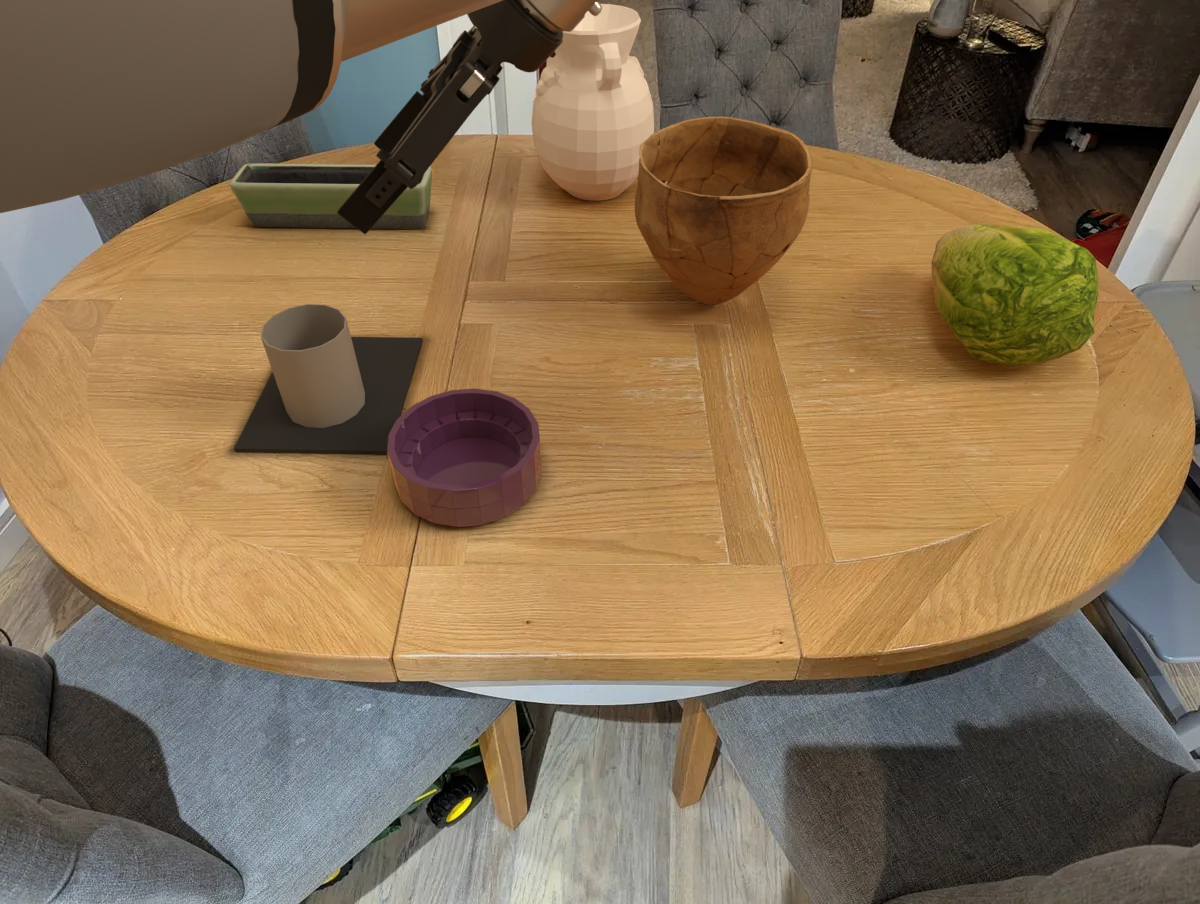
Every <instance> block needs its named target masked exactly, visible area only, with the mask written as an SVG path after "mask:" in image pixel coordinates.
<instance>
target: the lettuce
mask: <svg viewBox="0 0 1200 904" xmlns="http://www.w3.org/2000/svg"><path fill="white" fill-rule="evenodd" d="M931 280H932V284H933V288H934V304H935V306H936V308H937V310H938V312H939V313H940V314H941V316H942V318H943V319H944V321H945V322H946V324H947V325H948V327H949V329H950V330H951V332H952V333H953V335H954V336H955V338H956V339H957V340H958V341H959V343H960V344H961V345H962V346H963V347H964V348H965V350H966V351H967V352H968V353H969V355H971V357H972V358H973V359H974V360H976V361H977V360H978V361H981V362H986V363H989V364H995V365H1002V366H1003V365H1004V366H1010V367H1011V366H1012V367H1022V366H1030V365H1031V366H1032V365H1039V364H1042V363H1045V362H1046V363H1047V362H1049V361H1052V360H1056V359H1058V358H1059V359H1060V358H1061V357H1064V356H1067V355H1069V354H1071V353H1074V352H1076V351H1079V350H1081V348H1083V346H1084V345H1085V344H1086V343H1087V342H1088V341H1089V340H1090V338H1092V337H1093V335H1094V334H1095V312H1096V307H1097V303H1098V300H1099V299H1098V298H1099V272H1098V266H1097V258H1096V257H1094V255H1093V254H1092V253H1091V252H1090V251H1089V250H1088V249H1087V248H1086V247H1083V246H1082V245H1080V244H1077V243H1075V242H1073V241H1071V240H1068V239H1066V238H1063V237H1062V236H1059V235H1057V234H1055V233H1053V232H1050V231H1049V230H1047V229H1044V228H1036V227H1030V226H1029V227H1027V226H1019V225H1018V226H1017V225H1003V224H996V223H995V224H994V223H987V222H977V223H969V224H965V225H961V226H958V227H956V228H954V229H952V230H950V231H947V232H945V234H943V235H942V236H941V237H940V238H939V239H938V240H937V241H936V244H935V249H934V252H933V255H932V259H931Z"/></svg>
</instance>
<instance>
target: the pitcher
mask: <svg viewBox="0 0 1200 904" xmlns="http://www.w3.org/2000/svg"><path fill="white" fill-rule="evenodd" d="M600 4H601V6H602V10H601V12H600V13H599V14H598V15H597V16H593V15H592V14H591V13H590V12H589V11H587V12H586V13H585V17H584V18H583V19H582V21H581V22H580V23H579V24H578V25H577V26H576V27H575V28H574V29H573V30H572V31H571V32H565V31H563V38H562V39H563V42H562V44H561V45H560V46H559V47H558V48H557V49H556V50H555V51H554V53H555V55H554V56H553V57H551V56H550V57H549V58H548V59H547V60H546V65H545V67H544V68H543V69H542V71H541V73H540V78H539V81H538V82H537V83H536V87H535V96H534V97H533V98H534V99H533V101H532V103H533V104H532V112H531V130H532V140H533V145H534V149H535V152H536V155H537V158H538V161H539V163H540V165H541V168H542V169H543V170H544V171H545V173H546V174H548V176H549V177H550V178H551V180H553V181H554V182H555V183H556V185H558V186H559V187H560V188H561V189H563V190H564V191H565V192H567V193H568V194H569V195H571V197H573V198H576V199H579V200H584V201H594V202H598V201H607V200H608V201H609V200H611V199H615V198H616V197H619V196H620V195H622V194H623V193H624V192H625V191H626V190H627V189H628V188H629V187H631V186H632V185H633V183H634V182H635V181H636V179H638V175H639V159H640V156H639V149H640V146H641V144H642V143H643V142H644V141H645V140H647V139H648V138H649V137H650V136H651V135H652V134H654V133H655V115H654V114H655V113H654V103H653V100H652V96H651V92H650V91H651V90H650V88H649V84H648V81H647V80H646V78H645V72H644V70H643V68H642V66H641V63H640V61H639V59H638V58H637V57H636V55H634V56H633V55H630V53H631V50H632V48H633V45H634V43H635V41H636V38H637V36H638V35H637V34H638V32H639V29H640V25H641V22H642V19H641V17H640V14H639V13H638V11H636V10H635V9H633V8H631V7H628V6H624V5H618V4H611V3H600Z"/></svg>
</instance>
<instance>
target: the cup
mask: <svg viewBox="0 0 1200 904" xmlns="http://www.w3.org/2000/svg"><path fill="white" fill-rule="evenodd" d="M350 331H351V330H350V326H349V323H348V320H347V317H346V316H345V314H344V313H343V312H342V311H341V310H340V309H339V308H337V307H333V306H331V305H327V304H325V303H324V304H322V303H321V304H320V303H319V304H318V303H306V304H301V305H300V304H299V305H296V306H291V307H288V308H286V309H284V310H282V311H279V312H277V313H275V314H272V315H271V317H270V318H269V319H268V320H267V321H266V322H264V324H263V325H262V328H261V331H260V339H261V341H262V345H263V347H264V350H265V352H266V356H267V358H268V362H269V365H270V368H271V371H272V372H273V374H274V377H275V380H276V383H277V385H278V388H279V391H280V394H281V397H282V400H283V403H284V406H285V409H286V412H287V413H288V415H289V416H290V418H291V419H292V421H293V422H295V423H297V424H300V425H302V426H304V427H312V428H326V427H329V426H333V425H337V424H341V423H343V422H345V421H347V420H348V419H350V418H352V417H353V416H355V415H357V413H358V412H359V411H360V409H361V408H362V407H363V405H364V404H365V391H364V387H363V383H362V379H361V375H360V371H359V367H358V363H357V359H356V355H355V351H354V347H353V343H352V339H351V337H352V336H351V332H350Z"/></svg>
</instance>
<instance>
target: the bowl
mask: <svg viewBox="0 0 1200 904" xmlns="http://www.w3.org/2000/svg"><path fill="white" fill-rule="evenodd" d="M639 156H640V159H639V175H638V177H637V183H636V190H635V196H634V215H635V216H634V217H635V221H636V225H637V228H638V230H639V233H641V236H642V238H643V240H644V242H645V244H646V245H647V248H648V249H649V251H650V253H651V255H652V257H653V259H654V261H655V262H656V263H657V265H658V266H659V267H660V268H661V270H662V271H663V272H664V273H665V275H667V277H668V278H669V280H670V281H671V282H672V283H673V284H674V285H675V286H676V287H677V289H678V290H679V291H680V292H682V293H683V294H684V295H686V296H688V297H689V298H690V299H692V300H693V301H695V302H697V303H701V304H704V305H719V304H723V303H726V302H728V301H730V300H732V299H735V298H736V297H739V296H740V294H742V293H743V292H745V291H746V290H747V289H748V288H749V287H751V286H752V285H753V284H755V283H756V282H757V281H759V280H760V279H761V278H762V277H763V276H765V275H766V274H767V273H768V272H769V271H771V269H772V268H773V267H774V266H775V265H776V264H777V263H778V262H779V261H780V259H781V258H782V257H783V256H784V255H785V254H786V253H787V252H788V251H789V249H790V248H791V246H793V244H794V243H795V241H796V240H797V238H798V237H799V235H800V233H801V232H802V230H803V228H804V226H805V223H806V221H807V218H808V215H809V214H808V213H809V209H810V203H811V202H810V198H811V197H810V187H811V186H810V185H811V176H812V172H813V158H812V154H811V152H810V150H809V148H808V146H807V144H806V143H805V142H804V141H803V140H802V138H800V137H799V136H798V135H796V134H794V133H792V132H790V131H789V130H786V129H782V128H780V127H775V126H772V125H770V124H769V125H768V124H765V123H762V122H759V121H755V120H751V119H744V118H739V117H738V118H736V117H730V116H724V115H723V116H722V115H721V116H702V117H697V118H690V119H686V120H685V119H684V120H683V121H679V122H677V123H673V124H671V125H667V126H666V127H663V128H661V129H659V130H657V131H656V132H654V134H652V135H651V136H650V137H649V138H648V139H647V140H645V141H644V142H643V143H642V144H641V146H640V149H639ZM666 182H667V183H666Z"/></svg>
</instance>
